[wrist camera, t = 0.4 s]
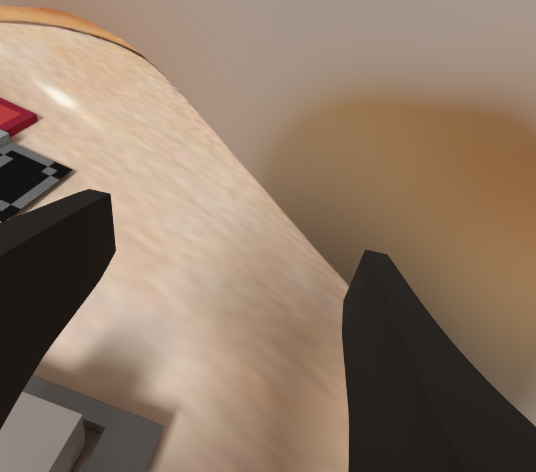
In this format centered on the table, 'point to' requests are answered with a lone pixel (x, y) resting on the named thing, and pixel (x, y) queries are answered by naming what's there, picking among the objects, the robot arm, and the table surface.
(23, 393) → the grey rectangular block
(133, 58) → the table surface
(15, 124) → the red board with handle
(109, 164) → the table surface
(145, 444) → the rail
